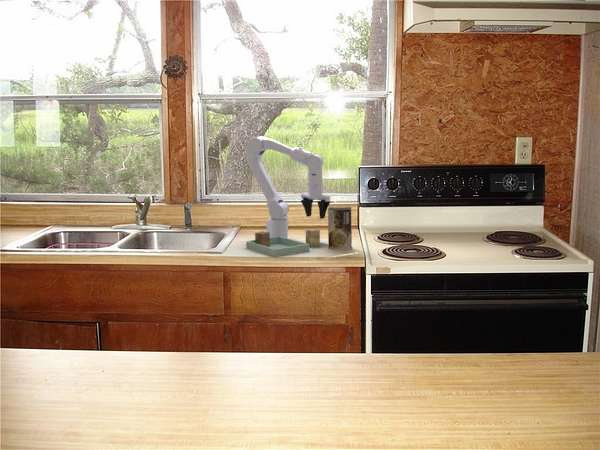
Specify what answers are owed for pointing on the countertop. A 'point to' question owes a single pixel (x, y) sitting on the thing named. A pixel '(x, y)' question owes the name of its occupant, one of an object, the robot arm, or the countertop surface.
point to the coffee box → (339, 228)
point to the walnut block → (262, 238)
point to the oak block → (313, 237)
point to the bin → (279, 246)
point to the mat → (319, 245)
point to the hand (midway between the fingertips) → (315, 217)
